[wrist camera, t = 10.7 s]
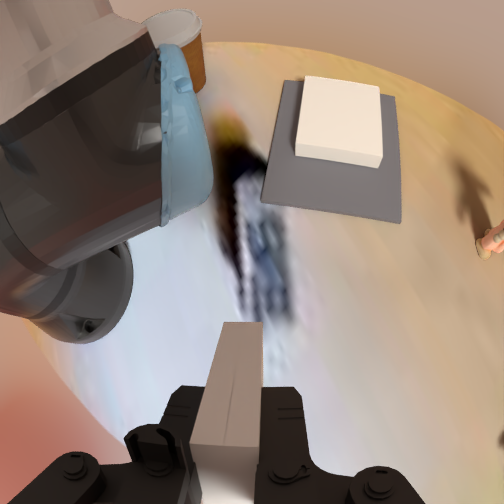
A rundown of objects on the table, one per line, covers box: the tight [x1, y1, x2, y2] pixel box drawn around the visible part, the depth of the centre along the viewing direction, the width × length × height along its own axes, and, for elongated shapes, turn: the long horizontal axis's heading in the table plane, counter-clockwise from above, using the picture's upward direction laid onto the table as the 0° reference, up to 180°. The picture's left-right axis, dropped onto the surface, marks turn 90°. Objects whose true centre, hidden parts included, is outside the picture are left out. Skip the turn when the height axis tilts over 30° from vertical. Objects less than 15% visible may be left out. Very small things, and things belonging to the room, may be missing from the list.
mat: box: [261, 80, 401, 224], centre depth 38 cm, size 16×20×1 cm
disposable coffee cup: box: [141, 9, 206, 93], centre depth 38 cm, size 10×10×12 cm
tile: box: [295, 76, 383, 168], centre depth 37 cm, size 10×3×12 cm
